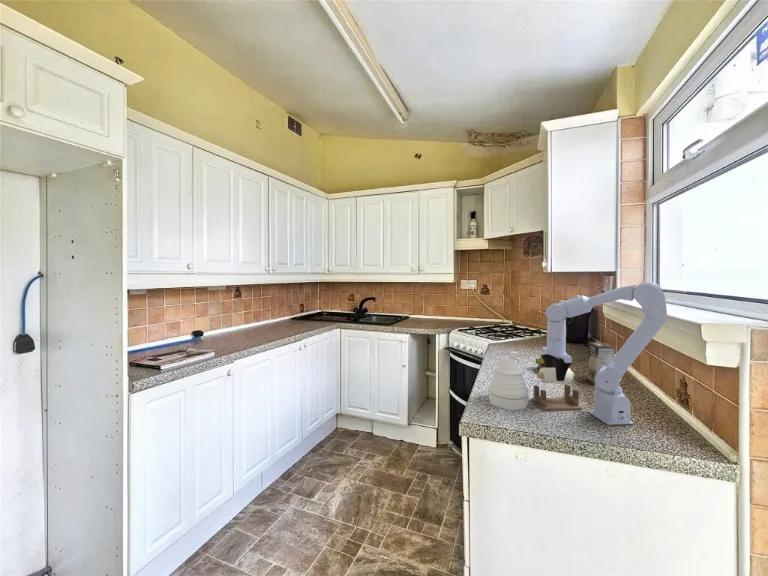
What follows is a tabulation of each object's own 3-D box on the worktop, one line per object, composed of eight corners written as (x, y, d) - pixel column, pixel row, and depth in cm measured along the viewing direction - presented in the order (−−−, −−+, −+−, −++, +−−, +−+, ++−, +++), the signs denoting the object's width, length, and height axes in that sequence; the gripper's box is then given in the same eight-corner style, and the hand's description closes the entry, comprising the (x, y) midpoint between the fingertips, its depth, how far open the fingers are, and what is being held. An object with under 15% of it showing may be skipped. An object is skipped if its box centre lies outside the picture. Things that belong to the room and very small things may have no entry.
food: (578, 374, 145) (578, 357, 145) (556, 379, 139) (556, 360, 139) (550, 366, 158) (551, 350, 157) (529, 370, 152) (530, 353, 151)
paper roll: (577, 384, 110) (577, 369, 110) (541, 385, 110) (542, 370, 109) (568, 379, 115) (568, 365, 115) (534, 380, 115) (534, 366, 114)
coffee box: (587, 378, 139) (588, 341, 138) (603, 379, 138) (604, 342, 137) (596, 386, 130) (597, 346, 129) (614, 387, 129) (615, 347, 128)
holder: (582, 410, 108) (582, 392, 108) (544, 411, 108) (544, 393, 107) (565, 399, 117) (566, 382, 117) (530, 400, 117) (530, 383, 116)
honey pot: (527, 398, 119) (528, 349, 118) (528, 412, 107) (529, 358, 106) (490, 393, 124) (490, 346, 123) (487, 406, 112) (487, 354, 111)
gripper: (534, 334, 119) (533, 371, 119) (557, 343, 104) (556, 385, 105) (553, 334, 119) (552, 371, 120) (578, 343, 105) (577, 384, 105)
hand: (555, 377), depth 112 cm, fingers closed on paper roll, 5 cm apart
